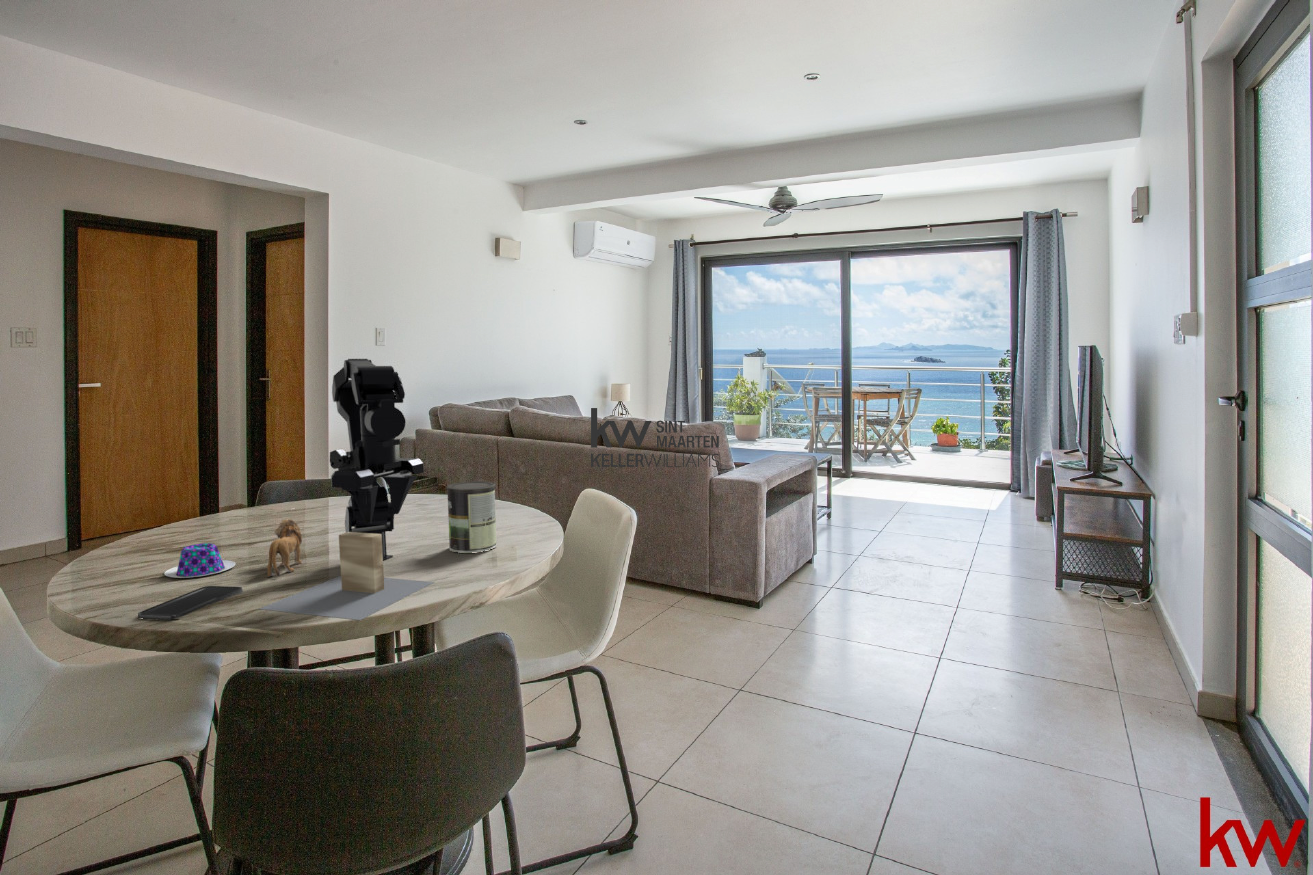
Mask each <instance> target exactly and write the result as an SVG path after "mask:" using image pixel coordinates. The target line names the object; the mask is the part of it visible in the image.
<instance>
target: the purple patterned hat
mask: <svg viewBox="0 0 1313 875" xmlns="http://www.w3.org/2000/svg"><path fill="white" fill-rule="evenodd" d="M218 548H219V547H218V546H217V545H216V544H214V543H210V542H209V543H203V542H202V543H198V544H197V543H196V544H191V545H188V546H184V547H183V548H182V549H181V551H180V556H179V559H178V560H179V562H178V564H177V566H174V567H171V568H170V569H167V570H166V571H164V573H163V574H164V576H166V577H169V578H180V579H182V578H183V579H185V578H186V579H187V578H188V579H189V578H199V577H204V576H210V575H214V574H218V573H222V572H226V571H227V570H230V569H232V568H234V567H235V566H236V562H235V561H232V560H226V559H225V560H224V559H223V558H222V557H221V553H220V551H219V549H218Z"/></svg>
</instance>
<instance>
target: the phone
mask: <svg viewBox="0 0 1313 875" xmlns="http://www.w3.org/2000/svg"><path fill="white" fill-rule="evenodd" d="M242 593H243V587H242V586H228V585H227V586H226V585H207V586H206V585H205V586H202V587H200V588H197V589H194V590H192V591H190V592H187V593H184V594H182V595H179V596H177V597H174V598H171V599H169V600H167V601H164V602H162V603H160V604H157V605H153V606H152V607H149V608H147V609H144V610H141V611H139V612H137V618H143V619H142V620H147V619H158V620H157V621H167V620H168V621H170V622H172V621H179V620H181V619H180V618H181V617H183V616H186V615H188V614H191V613H193V612H195V611H198V610H200V609H202V608H205V607H207V606H209V605H212V604H215V603H218V602H220V601H223V600H226V599H229V598H231V597H234V596H237V595H239V594H242Z"/></svg>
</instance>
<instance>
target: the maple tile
mask: <svg viewBox="0 0 1313 875" xmlns="http://www.w3.org/2000/svg"><path fill="white" fill-rule="evenodd" d="M338 544H339V545H338V546H339V563H340V566H339V567H340V576H341V583H342V590H347V591H357V592H367V593H377V592H379V591H381V590H383V589H384V578H385V577H384V576H385V575H384V573H385V572H384V561H383V553H382V534H373V533H358V532H347V533H346V532H344V533H342V534H339V535H338Z"/></svg>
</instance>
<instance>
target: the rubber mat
mask: <svg viewBox="0 0 1313 875" xmlns="http://www.w3.org/2000/svg"><path fill="white" fill-rule="evenodd" d="M433 584H435V581H426V580H425V581H424V580H415V579H404V578H393V577H384V589H383V590H381V591H379V592H377V593H367V592H357V591H347V590H342V583H341V575H338V576H336V577H334V578H331V579H329V580H327V581H325V582H321V583H319V584H316V585H314V586H312V587H309V588H307V589H305V590H302V591H299V592H297V593H296V592H295V593H294V594H292V595H290V596H287V597H285V598H282V599H280V600H277V601H274V602H272V603H270V604H266V605H264V606H262V607H260V608H258V610H263V611H264V610H265V611H272V612H273V611H274V612H281V613H282V612H283V613H291V614H299V615H308V616H309V615H310V616H318V617H325V618H326V617H327V618H337V619H345V620H346V619H347V620H354V621H362V620H364V619H366V618H368V617H369V616H371V615H373V614H376V613H377V612H379V611H381V610H383V609H385V608H387V607H389V606H391V605H393V604H395V603H397V602H399V601H401V600H403V599H404V598H407V597H409V596H410V595H413V594H415V593H416V592H418V591H421V590H423V589H425V588H426V587H428V586H431V585H433Z"/></svg>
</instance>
